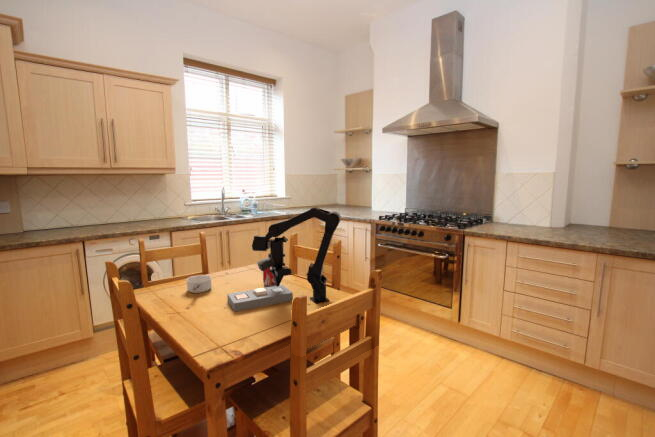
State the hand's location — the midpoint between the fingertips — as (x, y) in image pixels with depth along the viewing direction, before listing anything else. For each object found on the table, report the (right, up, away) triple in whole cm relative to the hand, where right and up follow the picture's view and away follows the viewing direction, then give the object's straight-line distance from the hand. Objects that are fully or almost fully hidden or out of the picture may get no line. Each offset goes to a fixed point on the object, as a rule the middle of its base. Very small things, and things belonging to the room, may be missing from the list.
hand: (277, 286), depth 143 cm
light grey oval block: (-38, -5, +7) cm, 38 cm away
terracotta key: (-14, -5, -7) cm, 16 cm away
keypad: (-7, -6, -3) cm, 10 cm away
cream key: (-7, -3, -3) cm, 8 cm away
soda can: (-6, -3, +19) cm, 20 cm away
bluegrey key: (0, -4, +1) cm, 4 cm away
